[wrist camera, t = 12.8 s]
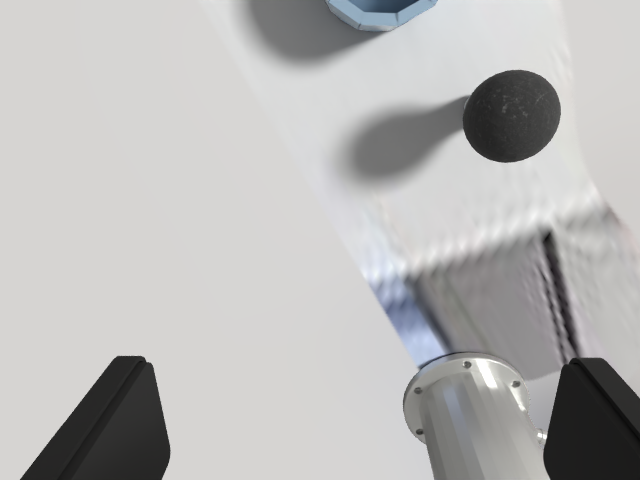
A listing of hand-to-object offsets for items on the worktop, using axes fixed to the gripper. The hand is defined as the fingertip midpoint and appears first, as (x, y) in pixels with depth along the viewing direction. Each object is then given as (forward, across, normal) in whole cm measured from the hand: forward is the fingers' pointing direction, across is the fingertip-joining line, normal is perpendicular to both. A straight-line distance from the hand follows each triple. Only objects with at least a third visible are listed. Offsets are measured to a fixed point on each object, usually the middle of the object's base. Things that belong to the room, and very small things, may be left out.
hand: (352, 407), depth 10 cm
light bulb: (+28, -10, -4) cm, 30 cm away
